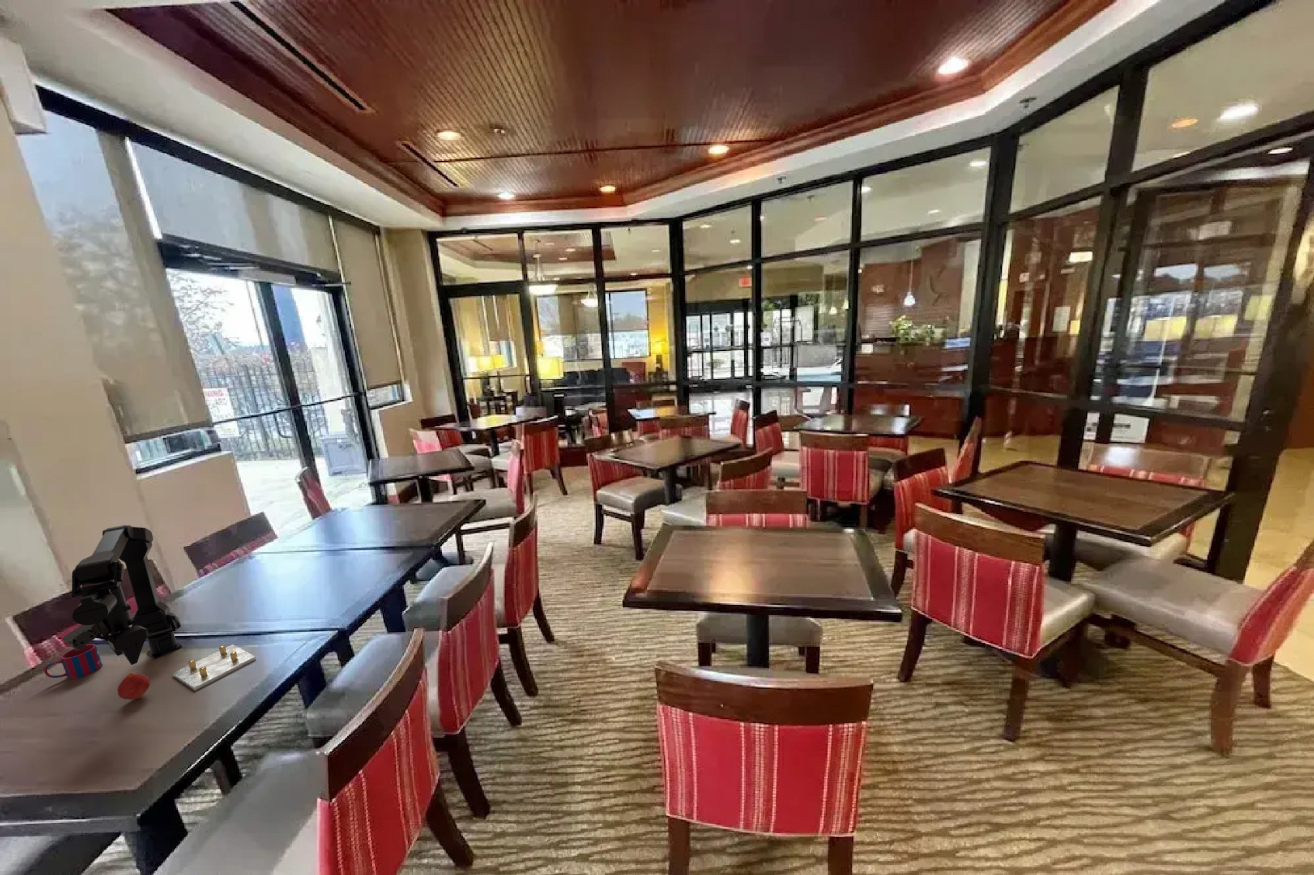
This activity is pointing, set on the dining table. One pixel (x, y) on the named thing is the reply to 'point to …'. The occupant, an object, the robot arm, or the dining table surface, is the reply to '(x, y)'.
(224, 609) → the dining table surface
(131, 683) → the red rounded piece
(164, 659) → the dining table surface
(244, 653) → the plate
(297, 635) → the dining table surface
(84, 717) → the dining table surface
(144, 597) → the robot arm
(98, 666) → the mug
